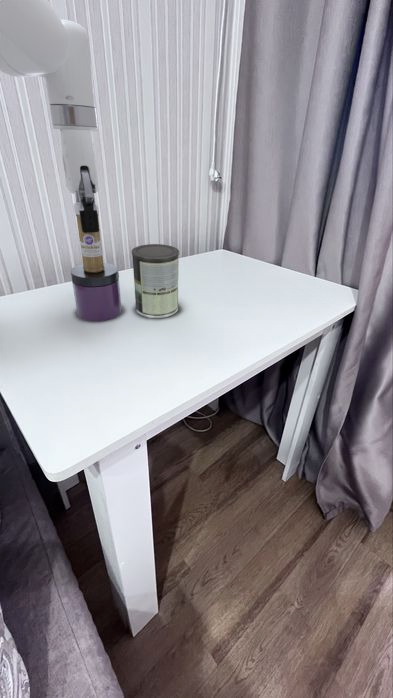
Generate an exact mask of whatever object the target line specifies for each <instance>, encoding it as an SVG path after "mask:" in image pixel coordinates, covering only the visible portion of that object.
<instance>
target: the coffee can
mask: <svg viewBox="0 0 393 698" xmlns="http://www.w3.org/2000/svg"><path fill="white" fill-rule="evenodd" d="M131 256H132V267H133V268H132V270H133V284H134V297H135V298H134V299H135V311H136V313H137V314H138V315H140V316H141V317H145V318H148V319H165V318H169V317H172V316H174V315H175V314H176V313H177V312H178V311H179V256H180V250H179V249H178V248H177V247H176V246H172V245H169V244H163V243H162V244H159V243H149V244H148V243H147V244H141V245H137V246H135V247H134V248H132V249H131Z"/></svg>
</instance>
